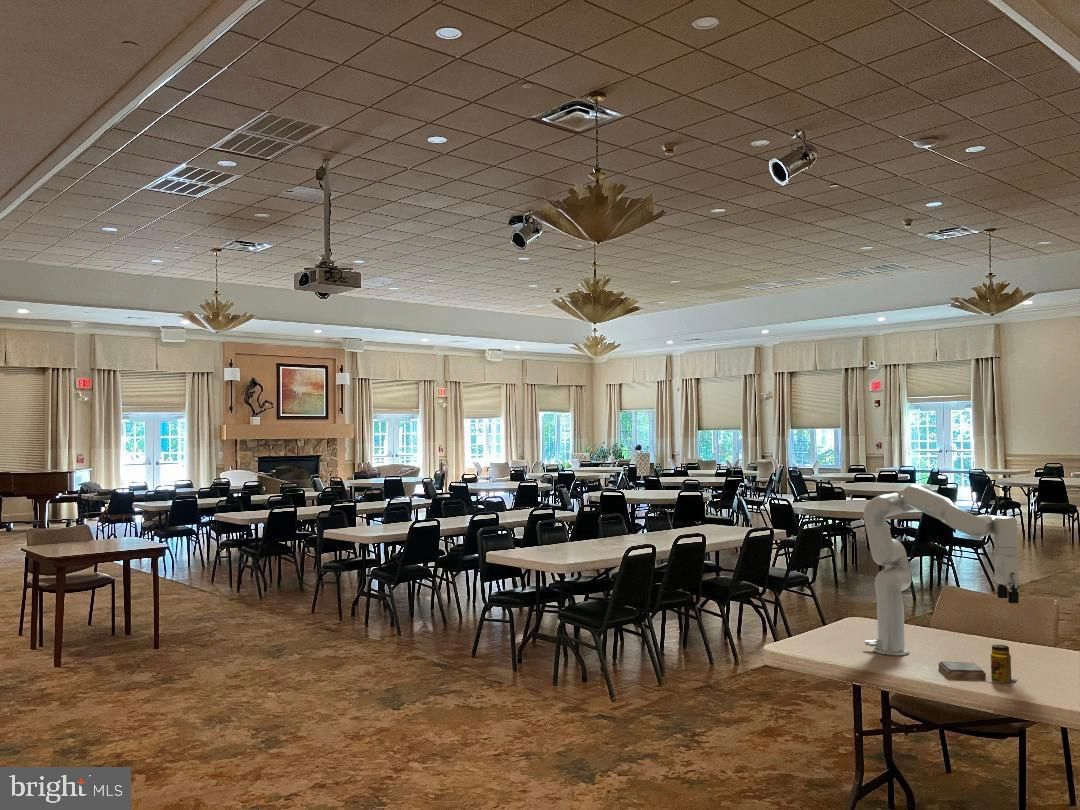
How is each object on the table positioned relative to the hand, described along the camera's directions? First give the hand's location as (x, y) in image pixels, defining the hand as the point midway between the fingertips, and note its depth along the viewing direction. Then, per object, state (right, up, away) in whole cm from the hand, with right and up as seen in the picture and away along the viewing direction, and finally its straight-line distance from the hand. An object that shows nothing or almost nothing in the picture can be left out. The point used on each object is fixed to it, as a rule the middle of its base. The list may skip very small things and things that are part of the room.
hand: (1008, 600), depth 319 cm
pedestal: (-19, -25, -5) cm, 31 cm away
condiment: (-9, -25, -13) cm, 29 cm away
